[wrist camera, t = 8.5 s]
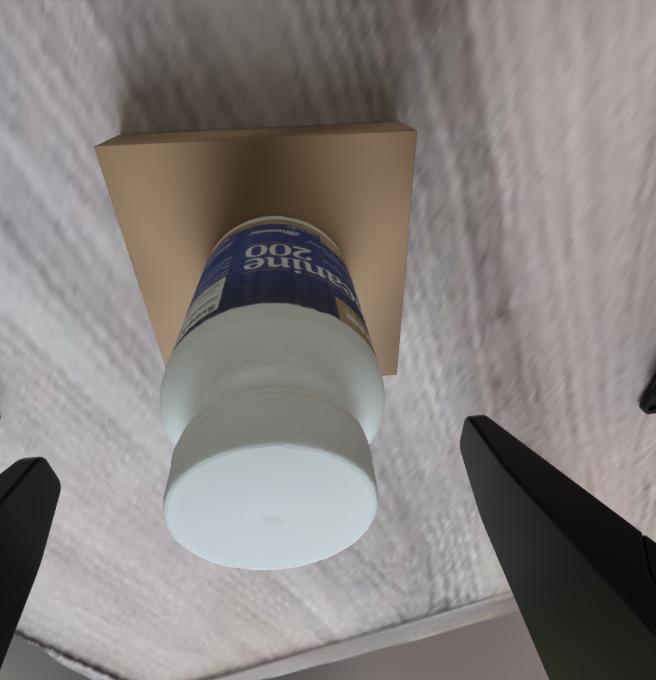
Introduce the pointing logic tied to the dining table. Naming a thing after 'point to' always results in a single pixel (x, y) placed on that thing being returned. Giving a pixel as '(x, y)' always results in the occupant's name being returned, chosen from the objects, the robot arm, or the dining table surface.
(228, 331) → the pill bottle
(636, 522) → the dining table surface
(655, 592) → the robot arm
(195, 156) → the tan slab
